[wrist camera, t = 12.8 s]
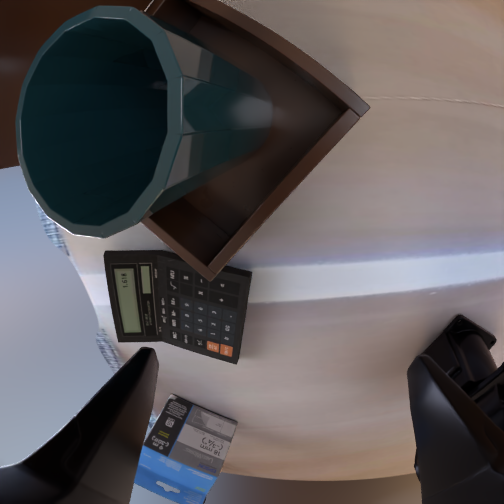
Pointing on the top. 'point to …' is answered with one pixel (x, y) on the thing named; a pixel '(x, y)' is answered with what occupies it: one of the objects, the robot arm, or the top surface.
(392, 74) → the top surface
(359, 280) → the top surface
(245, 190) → the brown wooden square box
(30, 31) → the lid
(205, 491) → the tape cartridge
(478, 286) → the top surface
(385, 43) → the top surface
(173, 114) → the teal drinking tumbler
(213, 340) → the calculator
